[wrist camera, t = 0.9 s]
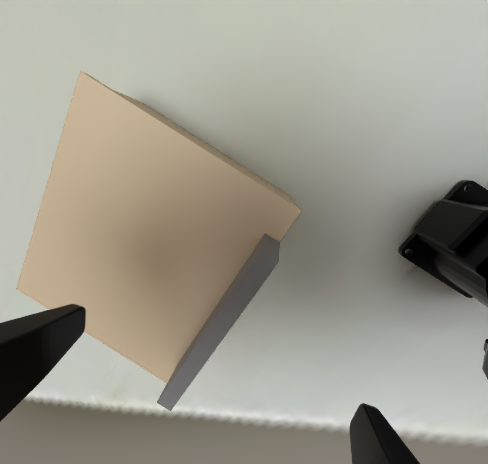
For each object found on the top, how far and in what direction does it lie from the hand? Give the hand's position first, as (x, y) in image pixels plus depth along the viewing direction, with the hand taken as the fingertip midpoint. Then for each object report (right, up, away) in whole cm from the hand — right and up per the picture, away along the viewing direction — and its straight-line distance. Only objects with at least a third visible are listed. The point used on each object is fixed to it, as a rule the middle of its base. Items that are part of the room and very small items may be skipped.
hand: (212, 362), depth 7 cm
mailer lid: (-6, +3, +9) cm, 11 cm away
